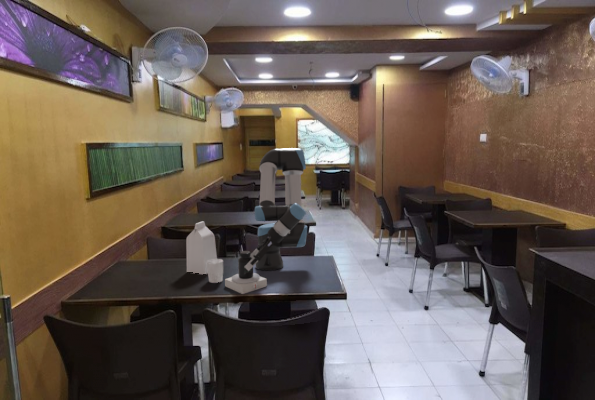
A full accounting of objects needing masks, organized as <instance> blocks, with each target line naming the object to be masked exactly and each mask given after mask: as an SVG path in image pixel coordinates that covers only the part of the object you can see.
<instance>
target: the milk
mask: <svg viewBox="0 0 595 400" xmlns="http://www.w3.org/2000/svg"><path fill="white" fill-rule="evenodd" d="M205 222H206V221H203V220H202V221H199V222H196V223H195V224H194V229H193V230H192V231H191V232H190V233H189V234H188V235H187V236H186V244H185V245H186V249H185V250H186V273H187V272H193V273H192V274H195V273H199V274H198V275H203V274H206V275H208V270H207V261H208V260H212V259H218V256H217V255H218V254H217V248H216V247H217V246H216V237H215V234H214V233H213V231H211V230H210V229H209V228H208V226H206V223H205Z"/></svg>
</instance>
